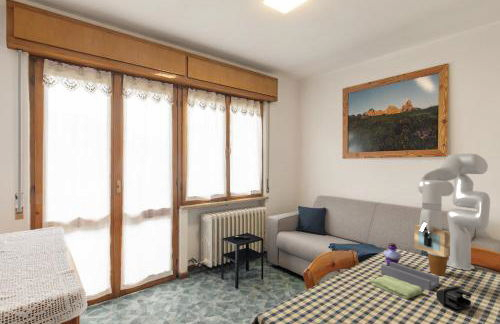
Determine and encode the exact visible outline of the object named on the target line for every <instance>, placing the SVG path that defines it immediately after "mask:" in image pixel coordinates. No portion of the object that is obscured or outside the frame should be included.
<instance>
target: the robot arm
mask: <svg viewBox="0 0 500 324" xmlns="http://www.w3.org/2000/svg"><path fill="white" fill-rule="evenodd" d="M488 166H489V165H488V162H487V160H486V159H485V158H483V157H482V156H480V155H479V154H477V153H452V154H449V155H447V157H446V158H445V159H444V161H443V163H442V164H441V165H440V167H438V168H435V169H433V170H430V171H428V172H427V173H425V174H424V175H423V176H422V177H421V178H420V180H419V182H418V185H417V188H418V192H419V193H420V194H422V198H421V199H422V202H421V203H422V206H421V207H422V209H421V210H420V215H419V224H418V225H419V228H420V232H421V233H422V234H423V237H424V245H425V246H428V247H431V243H432V239H431V232H433V230H434V229H441V230H443V214H442V209H443V208H442V205H443V204H442V202H443V201H442V199H443V198H442V197H449V196H452V203H453V205H454V206H456V207H459V208H452V209H449V210H448V211H447V213H446V217H447V218H446V219H447V223H448V231H450V256H448V260H447V266H448V267H451V268H454V269H456V270H461V269H463V271H472V270H471V269H474V270H475V266H474V265H473V264H471V260H472V258H471V257H472V253H471V252H472V250H471V249H472V245H471V243H472V236H471V233H470V232H469V230H468V229H473V230H481V231H485V230H487V229H488V226H489V222H490V209H491V199H490V195H489V194H488V193H487V192H485V191H477V190H474V181H473V180H472V178H471V177H470V176H469V175H484V174H485V173H486V172H487V171H488V168H489V167H488ZM452 180H453V183H451V181H452ZM461 208H466V209H461ZM469 209H470V210H469ZM471 209H474V210H471ZM476 210H477V211H476ZM426 230H427V231H426ZM426 232H428V234H427V233H426Z"/></svg>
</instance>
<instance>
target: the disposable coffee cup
mask: <svg viewBox="0 0 500 324" xmlns="http://www.w3.org/2000/svg"><path fill="white" fill-rule="evenodd" d="M426 252H427V251H426ZM427 258H428V265H429V271H430V274H432V275H435V276H445V275H446V272H447V266H448V265H447V260H449V256H447V257H443V256H440V255H436V254H433V253H430V252H427Z"/></svg>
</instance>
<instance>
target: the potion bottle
mask: <svg viewBox="0 0 500 324" xmlns="http://www.w3.org/2000/svg"><path fill="white" fill-rule="evenodd" d="M387 248H388V249H387V250H384V251H383V254H384V257H385V260H386V266H389V267H390V262H394V263H397V264H400V263H399V262H400V261H401V257H402V254H401V253H400V252H399V251H396V250H398V246H397V245H396V243H394V242H389V244H388V245H387Z"/></svg>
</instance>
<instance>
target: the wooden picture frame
mask: <svg viewBox="0 0 500 324" xmlns="http://www.w3.org/2000/svg"><path fill="white" fill-rule="evenodd" d="M426 231H427V230H426ZM426 233H427V234H428V232H426ZM413 237H414V241H413V242H414V244H413V245H414V247H413V248H414V249H417V250H419V251H420V250H421V251H424V252H430V253H433V254H436V255H440V256H443V257H447V256H448V257H449V256H450V231H449V230H445V229H442V230H441V229H434V230H433V232H431V239H432V243H431V247H428V246H425V245H424V237H423V234H422V233H421V232H420V228H419V224H415V225H414V236H413Z"/></svg>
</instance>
